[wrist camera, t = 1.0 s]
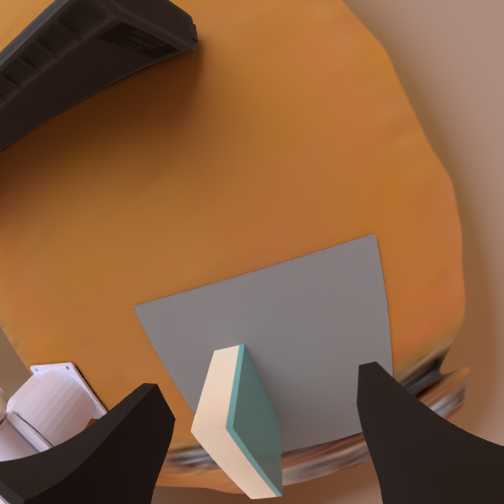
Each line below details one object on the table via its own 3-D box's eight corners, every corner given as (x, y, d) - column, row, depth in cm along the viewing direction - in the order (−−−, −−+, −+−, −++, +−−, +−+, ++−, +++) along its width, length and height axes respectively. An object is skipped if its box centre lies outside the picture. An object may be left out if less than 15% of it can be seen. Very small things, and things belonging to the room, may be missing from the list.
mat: (228, 455, 24) (228, 458, 24) (135, 305, 19) (133, 307, 19) (391, 418, 22) (392, 420, 21) (373, 233, 17) (375, 234, 17)
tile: (255, 429, 22) (251, 498, 14) (214, 350, 20) (190, 431, 12) (280, 424, 22) (282, 495, 14) (244, 343, 19) (232, 427, 12)
